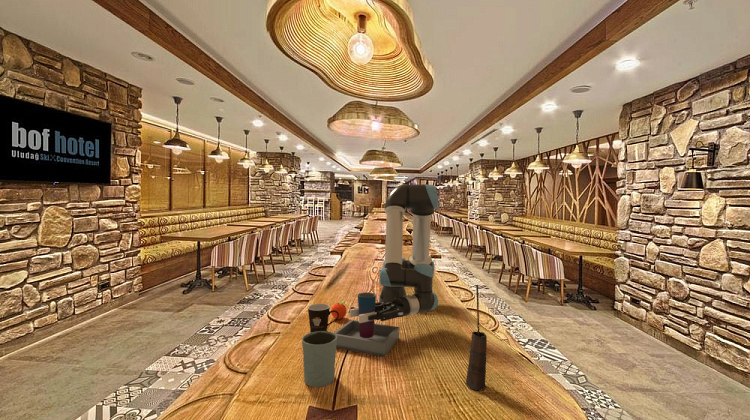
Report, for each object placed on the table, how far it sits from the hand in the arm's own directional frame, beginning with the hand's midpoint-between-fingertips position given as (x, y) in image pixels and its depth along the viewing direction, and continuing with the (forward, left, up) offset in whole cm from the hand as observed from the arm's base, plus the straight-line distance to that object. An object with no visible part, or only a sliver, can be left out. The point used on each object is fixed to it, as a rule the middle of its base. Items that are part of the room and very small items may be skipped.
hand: (354, 316), depth 112 cm
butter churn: (+10, +43, -11) cm, 46 cm away
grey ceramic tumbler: (+23, 0, -11) cm, 26 cm away
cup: (-4, +3, -8) cm, 10 cm away
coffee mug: (-6, -17, -11) cm, 21 cm away
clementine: (-23, -18, -11) cm, 31 cm away
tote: (-4, +3, -11) cm, 12 cm away
